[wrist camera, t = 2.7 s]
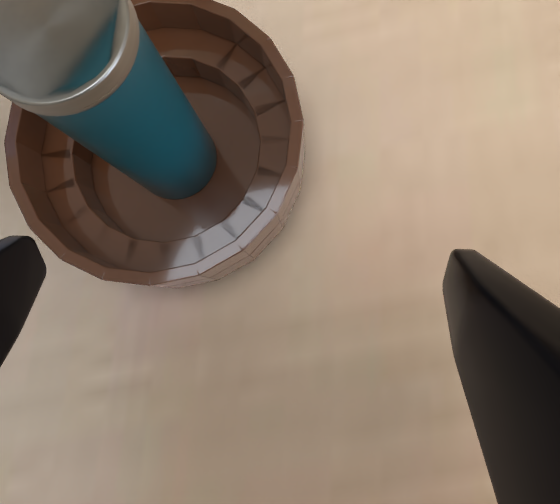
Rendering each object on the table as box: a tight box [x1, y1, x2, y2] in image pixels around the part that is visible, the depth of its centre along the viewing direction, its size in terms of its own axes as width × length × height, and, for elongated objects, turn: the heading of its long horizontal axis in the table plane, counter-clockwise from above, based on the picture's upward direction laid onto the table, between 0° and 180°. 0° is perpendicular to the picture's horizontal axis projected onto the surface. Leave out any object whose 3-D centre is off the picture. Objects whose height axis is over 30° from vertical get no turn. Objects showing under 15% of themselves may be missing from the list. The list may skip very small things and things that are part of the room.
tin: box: [0, 0, 217, 200], centre depth 18 cm, size 5×5×12 cm
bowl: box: [4, 0, 305, 288], centre depth 22 cm, size 14×14×4 cm
